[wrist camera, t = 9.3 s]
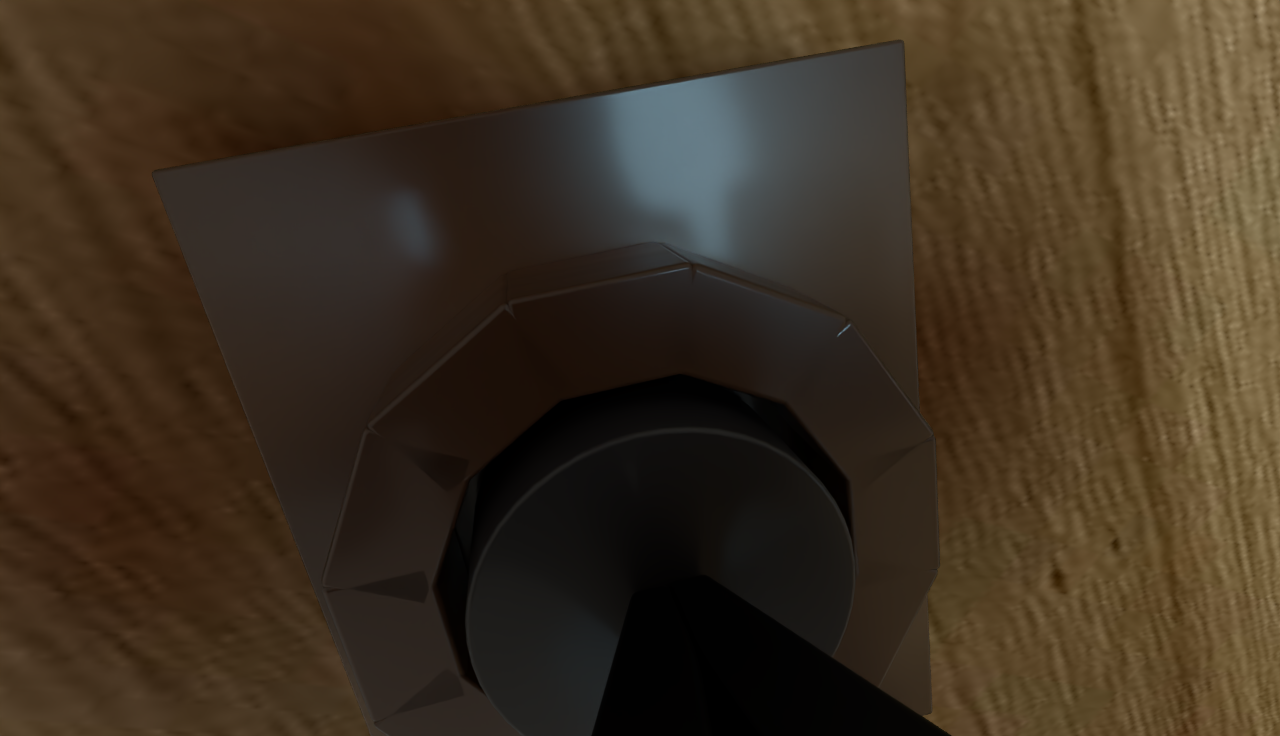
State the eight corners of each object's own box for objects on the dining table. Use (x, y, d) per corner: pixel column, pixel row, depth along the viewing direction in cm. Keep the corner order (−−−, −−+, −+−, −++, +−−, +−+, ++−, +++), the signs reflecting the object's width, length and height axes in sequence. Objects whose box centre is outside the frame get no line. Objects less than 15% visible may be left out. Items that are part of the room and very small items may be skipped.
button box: (872, 632, 14) (1001, 803, 11) (434, 756, 13) (405, 995, 10) (829, 59, 11) (1002, 11, 7) (224, 165, 10) (44, 177, 6)
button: (803, 609, 11) (870, 712, 9) (515, 688, 10) (517, 817, 8) (771, 335, 9) (843, 385, 7) (434, 411, 9) (413, 486, 7)
